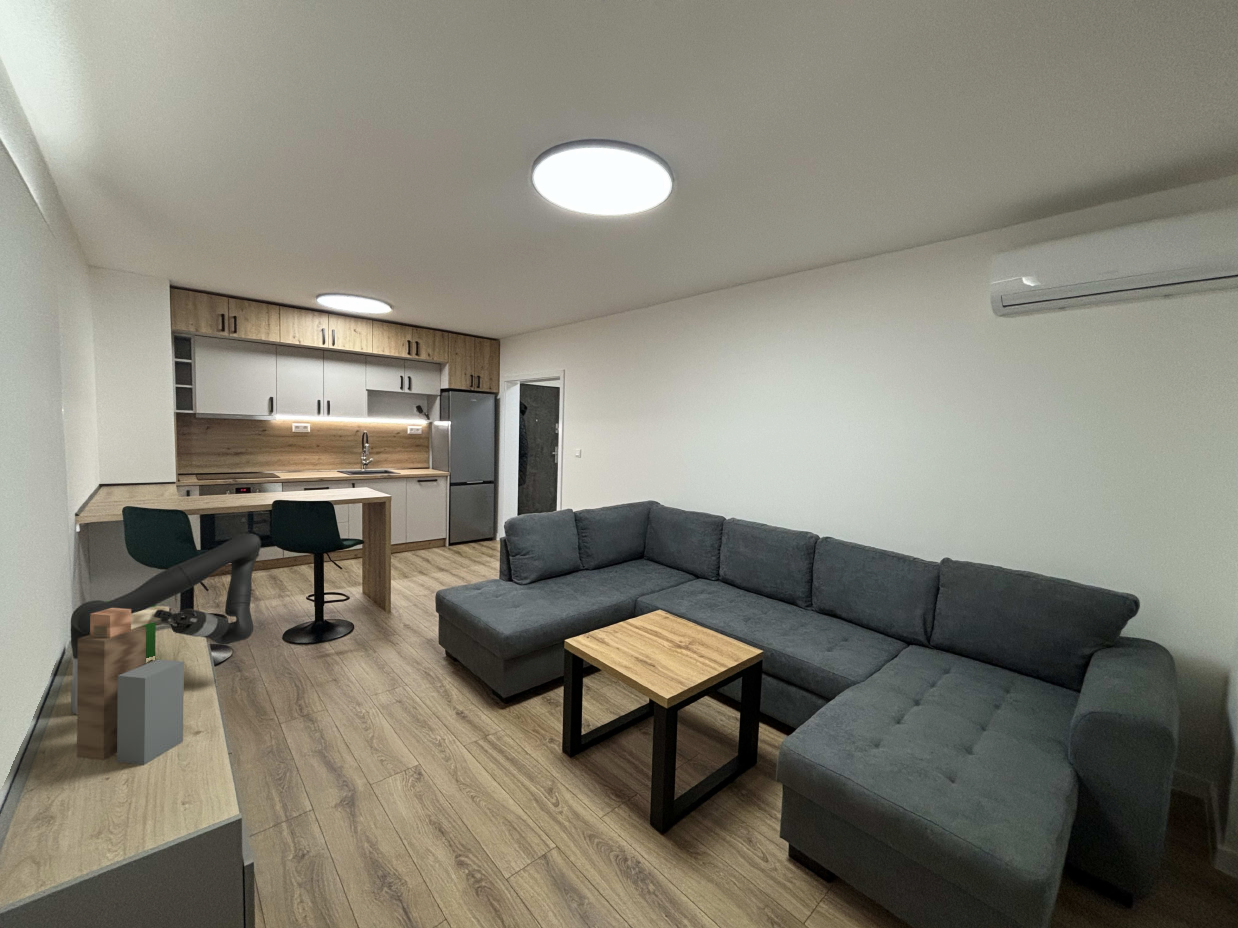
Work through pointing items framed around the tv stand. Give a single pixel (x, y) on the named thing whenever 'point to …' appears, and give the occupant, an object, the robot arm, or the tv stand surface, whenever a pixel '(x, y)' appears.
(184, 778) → the tv stand surface
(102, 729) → the tall stand
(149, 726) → the tall grey block
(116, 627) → the two-tone block
